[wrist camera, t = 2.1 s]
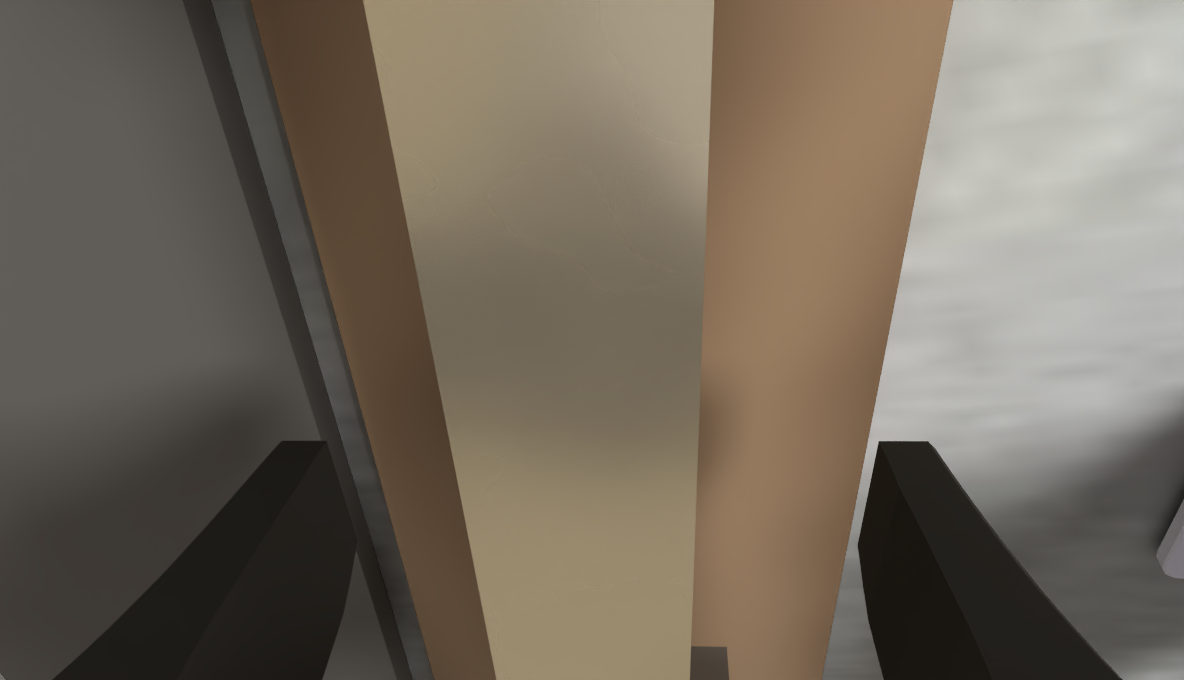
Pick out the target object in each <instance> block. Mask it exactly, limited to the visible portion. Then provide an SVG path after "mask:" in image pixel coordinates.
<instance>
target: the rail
mask: <svg viewBox="0 0 1184 680" xmlns="http://www.w3.org/2000/svg"><path fill="white" fill-rule="evenodd" d="M363 3H364V8H365V13H366V18H367V23H368V28H369V33H370V38H371V43H372V48H373V54H374V59H375V64H376V69H377V74H378V79H379V84H380V89H381V94H382V99H383V105H384V110H385V115H386V120H387V125H388V130H389V135H390V140H391V145H392V150H393V155H394V161H395V166H396V171H397V176H398V181H399V186H400V191H401V196H402V201H403V206H404V212H405V217H406V222H407V227H408V232H409V237H410V242H411V247H412V252H413V257H414V262H415V268H416V273H417V278H418V283H419V288H420V293H421V298H422V303H423V308H424V313H425V319H426V324H427V329H428V334H429V339H430V344H431V349H432V354H433V359H434V364H435V369H436V375H437V380H438V385H439V390H440V395H441V400H442V405H443V410H444V415H445V420H446V426H447V431H448V436H449V441H450V446H451V451H452V456H453V461H454V466H455V471H456V476H457V482H458V487H459V492H460V497H461V502H462V507H463V512H464V517H465V522H466V527H467V533H468V538H469V543H470V548H471V553H472V558H473V563H474V568H475V573H476V578H477V583H478V589H479V594H480V599H481V604H482V609H483V614H484V619H485V624H486V629H487V634H488V640H489V645H490V650H491V655H492V660H493V665H494V670H495V675H496V680H690V660H691V632H692V605H693V577H694V549H695V521H696V494H697V466H698V438H699V410H700V383H701V355H702V327H703V299H704V272H705V244H706V216H707V188H708V161H709V133H710V105H711V77H712V49H713V22H714V0H363Z"/></svg>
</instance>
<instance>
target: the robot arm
mask: <svg viewBox="0 0 1184 680" xmlns="http://www.w3.org/2000/svg"><path fill="white" fill-rule="evenodd" d="M357 542H358V540H357V537H356V534H355V531H354V527H353V524H352V521H351V518H350V515H349V511H348V508H347V505H346V502H345V498H344V495H343V492H342V489H341V486H340V482H339V479H338V476H337V473H336V470H335V466H334V463H333V460H332V457H331V453H330V450H329V447H328V444H327V441H281V442H280V443H279V444H278V445H277V446H276V447H275V448H274V449H273V451H272V452H271V453H270V454H269V455H268V456H267V457H266V458H265V459H264V461H263V462H262V463H261V464H260V465H259V466H258V468H257V469H256V470H255V471H254V472H253V473H252V474H251V476H250V477H249V478H248V479H247V480H246V481H245V483H244V484H243V485H242V486H241V487H240V488H239V489H238V491H237V492H236V493H235V494H234V495H233V496H232V497H231V499H230V500H229V501H228V502H227V503H226V504H225V505H224V507H223V508H222V509H221V510H220V511H219V512H218V513H217V515H216V516H215V517H214V518H213V519H212V520H211V521H210V523H209V524H208V525H207V526H206V527H205V528H204V529H203V530H202V531H201V532H200V534H199V535H198V536H197V537H196V538H195V539H194V540H193V541H192V542H191V543H190V544H189V546H188V547H187V548H186V549H185V550H184V551H183V552H182V553H181V554H180V555H179V556H178V558H177V559H176V560H175V561H174V562H173V563H172V564H171V565H170V566H169V567H168V568H167V569H166V571H165V572H164V573H163V574H162V575H161V576H160V577H159V578H158V579H157V580H156V581H155V582H154V583H153V584H152V585H151V586H150V587H149V588H148V589H147V590H146V591H145V592H144V593H143V594H142V595H141V596H140V597H139V598H138V599H137V600H136V601H135V602H134V603H133V604H132V605H131V606H130V607H129V608H128V609H127V610H126V611H125V612H124V613H123V614H122V615H121V616H120V617H119V618H118V619H117V620H116V621H115V622H114V623H113V624H112V625H111V626H110V627H109V628H108V629H107V630H106V631H105V632H104V633H103V634H102V635H101V636H100V637H98V638H97V639H96V640H95V641H94V642H93V643H92V644H91V645H90V646H89V647H88V648H87V649H86V650H85V651H83V652H82V653H81V654H80V655H79V656H78V657H77V658H76V659H75V660H74V661H72V662H71V663H70V664H69V665H68V666H67V667H66V668H65V669H63V670H62V671H61V672H60V673H59V674H58V675H57V676H55V677H54V678H53V679H52V680H322V679H323V676H324V673H325V670H326V667H327V664H328V661H329V658H330V655H331V651H332V648H333V645H334V642H335V639H336V636H337V633H338V630H339V626H340V623H341V620H342V617H343V614H344V609H345V605H346V600H347V595H348V590H349V585H350V581H351V575H352V570H353V564H354V559H355V553H356V548H357ZM858 551H859V558H860V565H861V573H862V580H863V588H864V594H865V601H866V607H867V614H868V620H869V624H870V628H871V632H872V636H873V640H874V644H875V648H876V651H877V655H878V659H879V663H880V667H881V670H882V674H883V678H884V680H1122V679H1121V678H1120V677H1119V676H1118V675H1117V674H1116V673H1115V672H1114V671H1113V670H1112V668H1111V667H1110V666H1109V665H1108V664H1107V663H1106V662H1105V661H1104V660H1103V659H1102V658H1101V657H1100V656H1099V655H1098V654H1097V652H1096V651H1095V650H1094V649H1093V648H1092V647H1091V646H1090V645H1089V644H1088V643H1087V642H1086V640H1085V639H1084V638H1083V637H1082V636H1081V635H1080V634H1079V633H1078V631H1077V630H1076V629H1075V628H1074V627H1073V626H1072V625H1071V624H1070V623H1069V621H1068V620H1067V619H1066V618H1065V617H1064V616H1063V615H1062V614H1061V612H1060V611H1059V610H1058V609H1057V608H1056V607H1055V605H1054V604H1053V603H1052V602H1051V601H1050V599H1049V598H1048V597H1047V596H1046V595H1045V594H1044V592H1043V591H1042V590H1041V589H1040V588H1039V586H1038V585H1037V584H1036V583H1035V581H1034V580H1033V579H1032V578H1031V577H1030V575H1029V574H1028V573H1027V572H1026V570H1025V569H1024V568H1023V567H1022V565H1021V564H1020V563H1019V562H1018V560H1017V559H1016V558H1015V557H1014V556H1013V554H1012V553H1011V552H1010V551H1009V549H1008V548H1007V547H1006V546H1005V544H1004V543H1003V542H1002V540H1001V539H1000V538H999V536H998V535H997V534H996V533H995V531H994V530H993V529H992V527H991V526H990V525H989V523H988V522H987V521H986V519H985V518H984V517H983V515H982V514H981V513H980V511H979V510H978V509H977V507H976V506H975V504H974V503H973V502H972V500H971V499H970V498H969V496H968V495H967V493H966V492H965V491H964V489H963V488H962V487H961V485H960V484H959V482H958V481H957V479H956V478H955V477H954V475H953V474H952V472H951V471H950V469H949V468H948V467H947V465H946V464H945V462H944V461H943V459H942V458H941V457H940V455H939V454H938V452H937V451H936V449H935V448H934V447H933V446H932V445H931V444H930V443H929V442H928V441H879V444H878V449H877V454H876V458H875V463H874V468H873V473H872V478H871V483H870V488H869V493H868V498H867V502H866V507H865V512H864V517H863V522H862V527H861V532H860V537H859V542H858ZM1156 558H1157V560H1158V562H1159V564H1160V565H1161V567H1162V569H1163V571H1164V573H1165V574H1166V575H1168V576H1170V577H1173V578H1179V579H1184V500H1183V502H1182V504H1181V506H1180V508H1179V510H1178V512H1177V514H1176V516H1175V518H1174V519H1173V521H1172V523H1171V525H1170V527H1169V529H1168V531H1167V533H1166V535H1165V537H1164V539H1163V541H1162V543H1161V545H1160V547H1159V548H1158V550H1157V555H1156Z"/></svg>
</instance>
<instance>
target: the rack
mask: <svg viewBox="0 0 1184 680" xmlns="http://www.w3.org/2000/svg"><path fill="white" fill-rule="evenodd" d="M250 2H251V6H252V9H253V13H254V17H255V20H256V24H257V28H258V31H259V35H260V39H261V42H262V46H263V50H264V54H265V57H266V61H267V65H268V68H269V72H270V76H271V79H272V83H273V87H274V90H275V94H276V98H277V101H278V105H279V109H280V113H281V116H282V120H283V124H284V127H285V131H286V135H287V138H288V142H289V146H290V149H291V153H292V157H293V161H294V164H295V168H296V172H297V175H298V179H299V183H300V186H301V190H302V194H303V197H304V201H305V205H306V209H307V212H308V216H309V220H310V223H311V227H312V231H313V234H314V238H315V242H316V245H317V249H318V253H319V256H320V260H321V264H322V268H323V271H324V275H325V279H326V282H327V286H328V290H329V293H330V297H331V301H332V304H333V308H334V312H335V316H336V319H337V323H338V327H339V330H340V334H341V338H342V341H343V345H344V349H345V352H346V356H347V360H348V364H349V367H350V371H351V375H352V378H353V382H354V386H355V389H356V393H357V397H358V400H359V404H360V408H361V411H362V415H363V419H364V423H365V426H366V430H367V434H368V437H369V441H370V445H371V448H372V452H373V456H374V459H375V463H376V467H377V471H378V474H379V478H380V482H381V485H382V489H383V493H384V496H385V500H386V504H387V507H388V511H389V515H390V519H391V522H392V526H393V530H394V533H395V537H396V541H397V544H398V548H399V552H400V555H401V559H402V563H403V566H404V570H405V574H406V578H407V581H408V585H409V589H410V592H411V596H412V600H413V603H414V607H415V611H416V614H417V618H418V622H419V626H420V629H421V633H422V637H423V640H424V644H425V648H426V651H427V655H428V659H429V662H430V666H431V670H432V674H433V677H434V680H496V675H495V670H494V665H493V660H492V655H491V650H490V645H489V640H488V634H487V629H486V624H485V619H484V614H483V609H482V604H481V599H480V594H479V589H478V583H477V578H476V573H475V568H474V563H473V558H472V553H471V548H470V543H469V538H468V533H467V527H466V522H465V517H464V512H463V507H462V502H461V497H460V492H459V487H458V482H457V476H456V471H455V466H454V461H453V456H452V451H451V446H450V441H449V436H448V431H447V426H446V420H445V415H444V410H443V405H442V400H441V395H440V390H439V385H438V380H437V375H436V369H435V364H434V359H433V354H432V349H431V344H430V339H429V334H428V329H427V324H426V319H425V313H424V308H423V303H422V298H421V293H420V288H419V283H418V278H417V273H416V268H415V262H414V257H413V252H412V247H411V242H410V237H409V232H408V227H407V222H406V217H405V212H404V206H403V201H402V196H401V191H400V186H399V181H398V176H397V171H396V166H395V161H394V155H393V150H392V145H391V140H390V135H389V130H388V125H387V120H386V115H385V110H384V105H383V99H382V94H381V89H380V84H379V79H378V74H377V69H376V64H375V59H374V54H373V48H372V43H371V38H370V33H369V28H368V23H367V18H366V13H365V8H364V3H363V0H250ZM952 5H953V0H714V22H713V49H712V77H711V105H710V133H709V161H708V188H707V216H706V244H705V272H704V299H703V327H702V355H701V383H700V410H699V438H698V466H697V494H696V521H695V549H694V577H693V605H692V632H691V660H690V680H821V679H822V674H823V669H824V664H825V659H826V654H827V648H828V643H829V638H830V633H831V628H832V623H833V618H834V612H835V607H836V602H837V597H838V592H839V587H840V582H841V576H842V571H843V566H844V561H845V556H846V551H847V545H848V540H849V535H850V530H851V525H852V520H853V515H854V509H855V504H856V499H857V494H858V489H859V484H860V478H861V473H862V468H863V463H864V458H865V453H866V448H867V442H868V437H869V432H870V427H871V422H872V417H873V412H874V406H875V401H876V396H877V391H878V386H879V381H880V375H881V370H882V365H883V360H884V355H885V350H886V345H887V339H888V334H889V329H890V324H891V319H892V314H893V308H894V303H895V298H896V293H897V288H898V283H899V278H900V272H901V267H902V262H903V257H904V252H905V247H906V242H907V236H908V231H909V226H910V221H911V216H912V211H913V205H914V200H915V195H916V190H917V185H918V180H919V175H920V169H921V164H922V159H923V154H924V149H925V144H926V138H927V133H928V128H929V123H930V118H931V113H932V108H933V102H934V97H935V92H936V87H937V82H938V77H939V72H940V66H941V61H942V56H943V51H944V46H945V41H946V35H947V30H948V25H949V20H950V15H951V10H952Z"/></svg>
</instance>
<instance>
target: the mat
mask: <svg viewBox="0 0 1184 680" xmlns="http://www.w3.org/2000/svg"><path fill="white" fill-rule="evenodd" d="M281 441H327V444H328V447H329V450H330V453H331V457H332V460H333V463H334V466H335V470H336V473H337V476H338V479H339V482H340V486H341V489H342V492H343V495H344V498H345V502H346V505H347V508H348V511H349V515H350V518H351V521H352V524H353V527H354V531H355V534H356V537H357V540H358V542H357V548H356V553H355V559H354V564H353V570H352V575H351V581H350V585H349V590H348V595H347V600H346V605H345V609H344V614H343V617H342V620H341V623H340V626H339V630H338V633H337V636H336V639H335V642H334V645H333V648H332V651H331V655H330V658H329V661H328V664H327V667H326V670H325V673H324V676H323V679H322V680H412V677H411V673H410V670H409V667H408V663H407V660H406V656H405V653H404V650H403V646H402V643H401V640H400V636H399V633H398V630H397V626H396V623H395V619H394V616H393V613H392V609H391V606H390V603H389V599H388V596H387V592H386V589H385V586H384V582H383V579H382V576H381V572H380V569H379V566H378V562H377V559H376V555H375V552H374V549H373V545H372V542H371V539H370V535H369V532H368V529H367V525H366V522H365V518H364V515H363V512H362V508H361V505H360V502H359V498H358V495H357V492H356V488H355V485H354V481H353V478H352V475H351V471H350V468H349V465H348V461H347V458H346V454H345V451H344V448H343V444H342V441H341V438H340V434H339V431H338V428H337V424H336V421H335V417H334V414H333V411H332V407H331V404H330V401H329V397H328V394H327V391H326V387H325V384H324V380H323V377H322V374H321V370H320V367H319V364H318V360H317V357H316V354H315V350H314V347H313V343H312V340H311V337H310V333H309V330H308V327H307V323H306V320H305V316H304V313H303V310H302V306H301V303H300V300H299V296H298V293H297V290H296V286H295V283H294V279H293V276H292V273H291V269H290V266H289V263H288V259H287V256H286V253H285V249H284V246H283V242H282V239H281V236H280V232H279V229H278V226H277V222H276V219H275V216H274V212H273V209H272V205H271V202H270V199H269V195H268V192H267V189H266V185H265V182H264V178H263V175H262V172H261V168H260V165H259V162H258V158H257V155H256V152H255V148H254V145H253V141H252V138H251V135H250V131H249V128H248V125H247V121H246V118H245V115H244V111H243V108H242V104H241V101H240V98H239V94H238V91H237V88H236V84H235V81H234V78H233V74H232V71H231V67H230V64H229V61H228V57H227V54H226V51H225V47H224V44H223V40H222V37H221V34H220V30H219V27H218V24H217V20H216V17H215V14H214V10H213V7H212V3H211V0H0V673H1V674H2V676H3V677H4V678H5V679H6V680H52V679H53V678H54V677H55V676H57V675H58V674H59V673H60V672H61V671H62V670H63V669H65V668H66V667H67V666H68V665H69V664H70V663H71V662H72V661H74V660H75V659H76V658H77V657H78V656H79V655H80V654H81V653H82V652H83V651H85V650H86V649H87V648H88V647H89V646H90V645H91V644H92V643H93V642H94V641H95V640H96V639H97V638H98V637H100V636H101V635H102V634H103V633H104V632H105V631H106V630H107V629H108V628H109V627H110V626H111V625H112V624H113V623H114V622H115V621H116V620H117V619H118V618H119V617H120V616H121V615H122V614H123V613H124V612H125V611H126V610H127V609H128V608H129V607H130V606H131V605H132V604H133V603H134V602H135V601H136V600H137V599H138V598H139V597H140V596H141V595H142V594H143V593H144V592H145V591H146V590H147V589H148V588H149V587H150V586H151V585H152V584H153V583H154V582H155V581H156V580H157V579H158V578H159V577H160V576H161V575H162V574H163V573H164V572H165V571H166V569H167V568H168V567H169V566H170V565H171V564H172V563H173V562H174V561H175V560H176V559H177V558H178V556H179V555H180V554H181V553H182V552H183V551H184V550H185V549H186V548H187V547H188V546H189V544H190V543H191V542H192V541H193V540H194V539H195V538H196V537H197V536H198V535H199V534H200V532H201V531H202V530H203V529H204V528H205V527H206V526H207V525H208V524H209V523H210V521H211V520H212V519H213V518H214V517H215V516H216V515H217V513H218V512H219V511H220V510H221V509H222V508H223V507H224V505H225V504H226V503H227V502H228V501H229V500H230V499H231V497H232V496H233V495H234V494H235V493H236V492H237V491H238V489H239V488H240V487H241V486H242V485H243V484H244V483H245V481H246V480H247V479H248V478H249V477H250V476H251V474H252V473H253V472H254V471H255V470H256V469H257V468H258V466H259V465H260V464H261V463H262V462H263V461H264V459H265V458H266V457H267V456H268V455H269V454H270V453H271V452H272V451H273V449H274V448H275V447H276V446H277V445H278V444H279V443H280V442H281Z"/></svg>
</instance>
